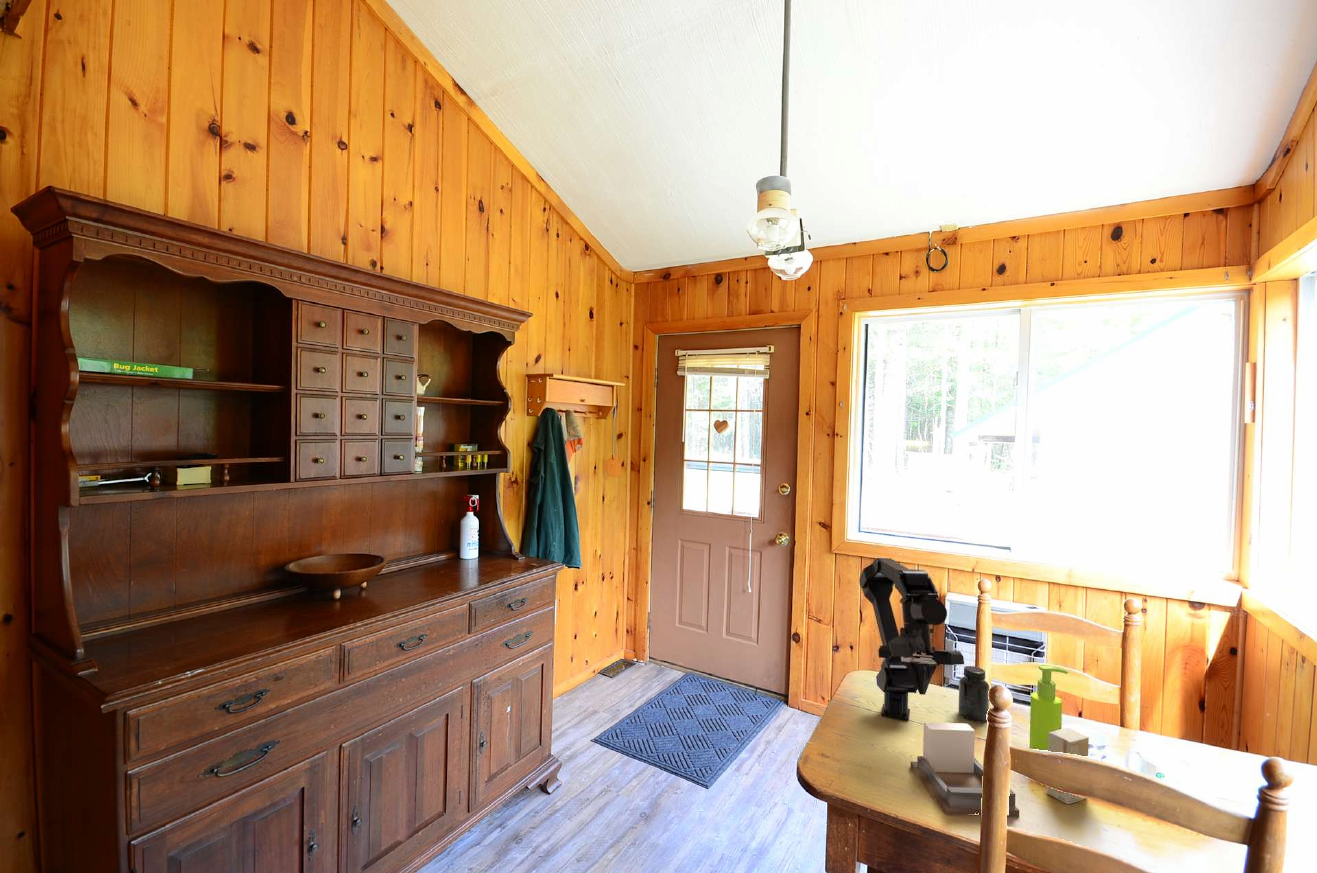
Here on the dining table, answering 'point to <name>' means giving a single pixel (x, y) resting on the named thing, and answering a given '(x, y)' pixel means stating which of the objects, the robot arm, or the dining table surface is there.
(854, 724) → the dining table surface
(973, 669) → the supplement bottle
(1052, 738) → the skincare box
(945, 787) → the press base
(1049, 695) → the soap dispenser
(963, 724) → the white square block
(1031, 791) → the dining table surface
